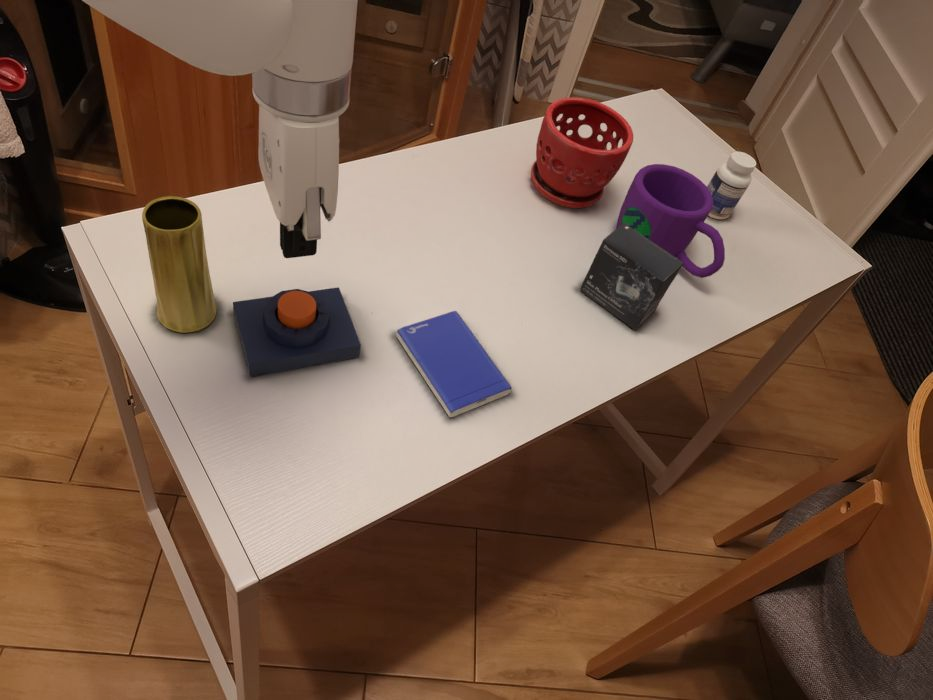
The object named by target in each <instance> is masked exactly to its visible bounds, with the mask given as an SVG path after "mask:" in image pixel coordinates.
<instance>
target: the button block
mask: <svg viewBox="0 0 933 700" xmlns="http://www.w3.org/2000/svg"><path fill="white" fill-rule="evenodd" d="M291 291H302V292H305V293H308V294H309V295H311V296H312V297H313V298H314V300H315V302H316V317H315V320H314V322H313V323H312V324H311V325H310V326H308V327H306V328H300V329H293V328H289V327H287V326H285V325H283V324H282V323H281V322H280V320H279V318H278V301H279V299H280V297H281V296H282V295H284V294H285V293H288V292H291ZM232 311H233V318H234V322H235V326H236V330H237V333H238V338H239V340H240V345H241V349H242V353H243V357H244V362H245V365H246V368H247V373H248V377H249V378H253V377H258V376H263V375H269V374H274V373H280V372H281V373H282V372H286V371H290V370H296V369H297V370H298V369H301V368H308V367H314V366H320V365H324V364H329V363H335V362H340V361H346V360H351V359H352V360H353V359H357V358H360V355H361V343H360V339H359V337H358V334H357V332H356V329H355V326H354V323H353V321H352V317H351V315H350V312H349V311H348V308H347V305H346V303H345V300H344V297H343V295H342V292H341V289H340V287H332V288H331V287H329V288H324V289H323V288H322V289H317V290H309V291H308V290H304V289H300V288H294V289H287V290H281V291H279V292H277V293H276V294H275V295H272V296H266V297H259V298H252V299H251V298H250V299H245V300H244V299H243V300H238V301H237V300H236V301H232Z"/></svg>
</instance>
